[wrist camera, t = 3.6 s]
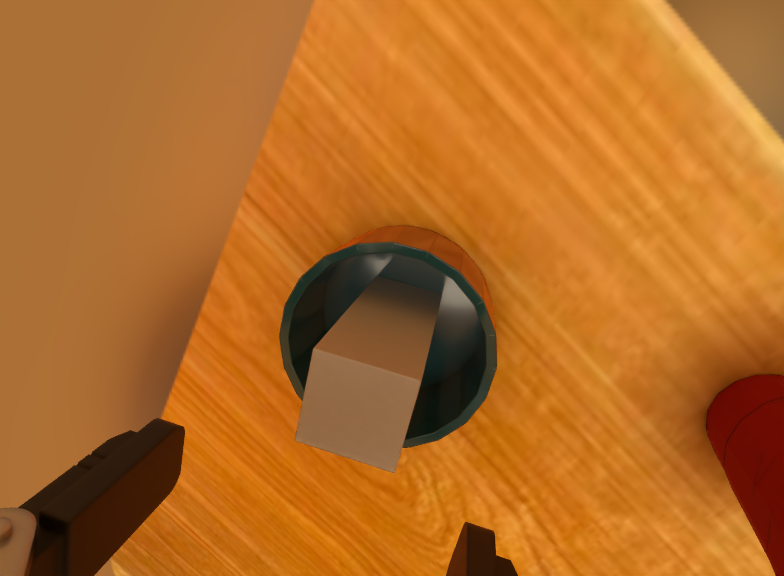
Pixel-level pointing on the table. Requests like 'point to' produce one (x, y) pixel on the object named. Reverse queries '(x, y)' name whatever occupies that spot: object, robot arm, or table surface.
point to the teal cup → (451, 332)
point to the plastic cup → (754, 454)
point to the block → (369, 374)
